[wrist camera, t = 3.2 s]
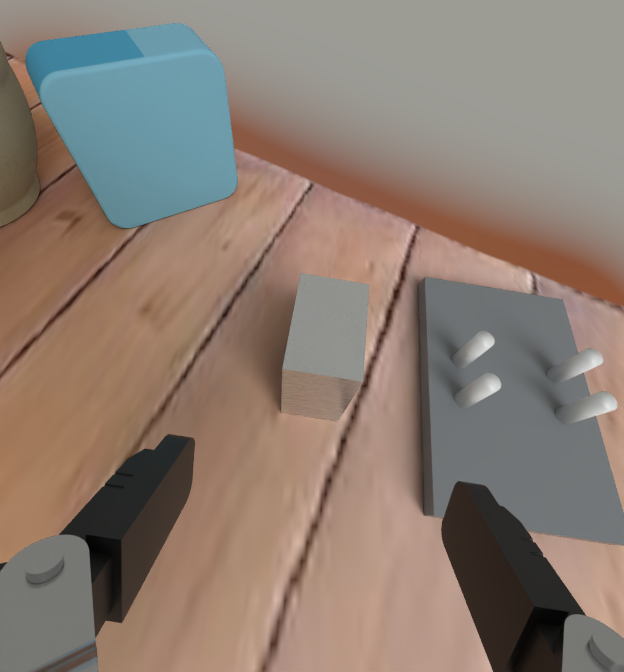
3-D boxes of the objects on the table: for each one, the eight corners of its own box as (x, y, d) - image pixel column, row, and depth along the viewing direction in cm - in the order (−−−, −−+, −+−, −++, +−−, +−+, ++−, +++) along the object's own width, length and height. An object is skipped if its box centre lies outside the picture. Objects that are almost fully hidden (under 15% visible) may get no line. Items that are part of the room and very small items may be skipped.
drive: (280, 412, 23) (281, 368, 16) (294, 338, 26) (299, 273, 19) (338, 422, 23) (364, 381, 16) (345, 346, 26) (370, 284, 19)
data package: (221, 168, 35) (196, 18, 24) (240, 194, 33) (222, 46, 23) (101, 203, 31) (11, 43, 21) (116, 234, 29) (26, 78, 19)
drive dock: (424, 515, 21) (463, 515, 16) (418, 287, 29) (442, 247, 25) (610, 544, 21) (698, 552, 17) (550, 309, 30) (597, 273, 25)
